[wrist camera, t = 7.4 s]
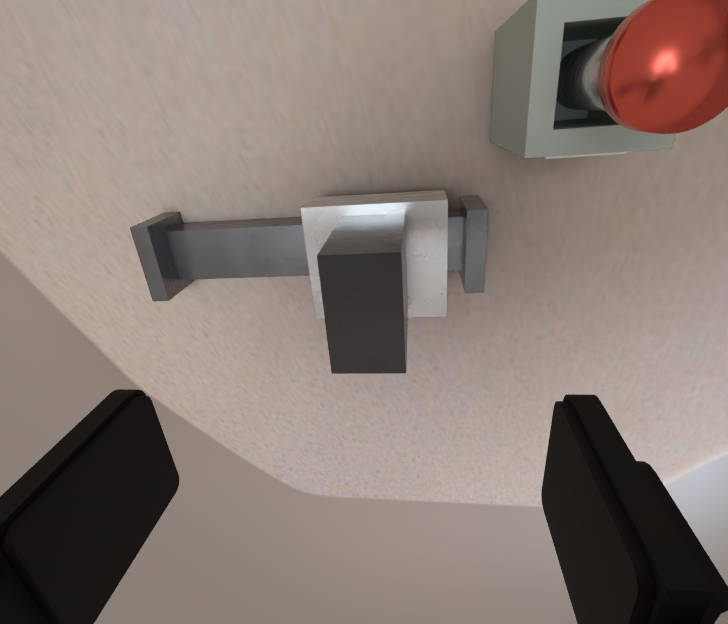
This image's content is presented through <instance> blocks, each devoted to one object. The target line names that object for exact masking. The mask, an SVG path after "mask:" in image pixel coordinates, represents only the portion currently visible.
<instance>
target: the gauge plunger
mask: <svg viewBox="0 0 728 624" xmlns="http://www.w3.org/2000/svg"><path fill="white" fill-rule="evenodd" d="M556 99H557V101H558V102H559V103H560V104H561V105H562V106H564V107H565V108H568V109H571V110H593V111H606V112H607V113H608V115H609V116H610V117H611V118H612V119H613V120H614V121H615V122H616V123H618V124H619V125H621V126H623V127H625V128H627V129H630V130H633V131H639V132H647V133H656V134H674V133H680V132H684V131H688V130H691V129H693V128H696V127H698V126H700V125H702V124H704V123H706V122H708V121H709V120H711V119H713V118H714V117H716V116H717V115H718V114H719V113H721V112H722V111H723V110H724V109H725V108H727V107H728V0H649V1H647V2H645V3H644V4H642V5H641V6H639V7H638V8H637V9H635V10H634V11H633V12H632V13H631V14H630V15H628V16H627V17H626V18H625V19H624V20H623V22H622V23H621V24H620V25H619V26H618V28H617V29H616V30H615V32H614V33H613V35H612V36H609V37H606V38H603V39H600V40H598V41H595V42H592V43H589V44H586V45H584V46H581V47H578V48H576V49H574V50H572V51H571V52H569V53H568V54H567V55H566V56H565V57H564V58H563V59H562V60H561V61H560V70H559V79H558V89H557V98H556Z"/></svg>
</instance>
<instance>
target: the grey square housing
mask: <svg viewBox="0 0 728 624" xmlns="http://www.w3.org/2000/svg"><path fill="white" fill-rule="evenodd" d="M647 1H649V0H529V1H528V2H527V3H525V4H524V5H523V6H522V7H521V8H520V9H519V10H518V11H517V12H516V13H515V14H513V15H512V16H511V17H510V18H509V19H508V20H507V21H506V22H505V23H504V24H503V25H501V26H500V27H499V28H498V29H497V30H496V31H495V48H494V69H493V90H492V111H491V131H490V142H492V143H494V144H496V145H498V146H500V147H502V148H504V149H506V150H508V151H510V152H513V153H515V154H517V155H519V156H521V157H523V158H537V157H541V158H544V159H555V158H570V157H586V156H601V155H617V154H628V152H629V151H644V150H660V149H672V148H673V143H674V139H675V134H676V133H674V134H656V133H647V132H639V131H633V130H630V129H627V128H625V127H623V126H621V125H619V124H618V123H616V122H615V121H614V120H613V119H612V118H611V117H610V116H609V115H608V113H607V112H606V111H593V110H571V109H568V108H565V107H564V106H562V105H561V104H560V103H559V102H558V101H557V99H556V98H557V89H558V79H559V70H560V61H561V60H562V59H563V58H564V57H565V56H566V55H567V54H568V53H569V52H571V51H572V50H574V49H576V48H578V47H581V46H584V45H586V44H589V43H592V42H595V41H598V40H600V39H603V38H606V37H609V36H612V35H613V33H614V32H615V30H616V29H617V28H618V26H619V25H620V24H621V23H622V22H623V20H624V19H625V18H626V17H627V16H628V15H630V14H631V13H632V12H633V11H634V10H635V9H637V8H638V7H639V6H641V5H642V4H644V3H645V2H647Z"/></svg>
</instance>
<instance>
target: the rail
mask: <svg viewBox="0 0 728 624" xmlns="http://www.w3.org/2000/svg"><path fill="white" fill-rule="evenodd" d="M487 224H488V208H487V207H486V206H485V204H484V203H483V201H482V200H481V199H480V197H479V196H461V197H460V209H449V210H448V249H447V271H454V270H459V273H460V276H461V280H462V284H463V288H464V291H465V293H479V292H484V284H485V264H486V244H487ZM130 230H131V233H132V236H133V239H134V242H135V246H136V249H137V252H138V255H139V258H140V262H141V265H142V268H143V271H144V274H145V278H146V281H147V284H148V287H149V290H150V294H151V297H152V300H153V301H169V300H170V299H172V298H173V297H174V296H175V295H177V294H178V293H179V292H180V291H182V290H183V289H184V288H185V287H187V286H188V285H189V284H190V283H192V282H193V281H194V280H196V279H215V278H245V277H275V276H305V275H310V274H309V267H308V259H307V252H306V245H305V238H304V230H303V223H302V217H293V218H274V219H254V220H235V221H215V222H196V223H182V220H181V216H180V212H170V213H163V214H160V215H158V216H156V217H154V218H151V219H149V220H147V221H144V222H142V223H140V224H137V225H135V226H133V227H130Z"/></svg>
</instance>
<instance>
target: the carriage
mask: <svg viewBox="0 0 728 624" xmlns="http://www.w3.org/2000/svg"><path fill="white" fill-rule="evenodd" d="M301 216H302V223H303V230H304V238H305V245H306V252H307V259H308V267H309V274H310V281H311V288H312V296H313V303H314V310H315V318H316V319H325V324H326V332H327V340H328V348H329V355H330V363H331V371H332V373H406V359H407V326H408V317H447V249H448V199H447V196H446V193H445V190H432V191H415V192H397V193H380V194H362V195H345V196H327V197H317V198H311V199H310V200H309V201H308V202H307V203H305V204H304V205H303V206H302V207H301Z"/></svg>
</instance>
